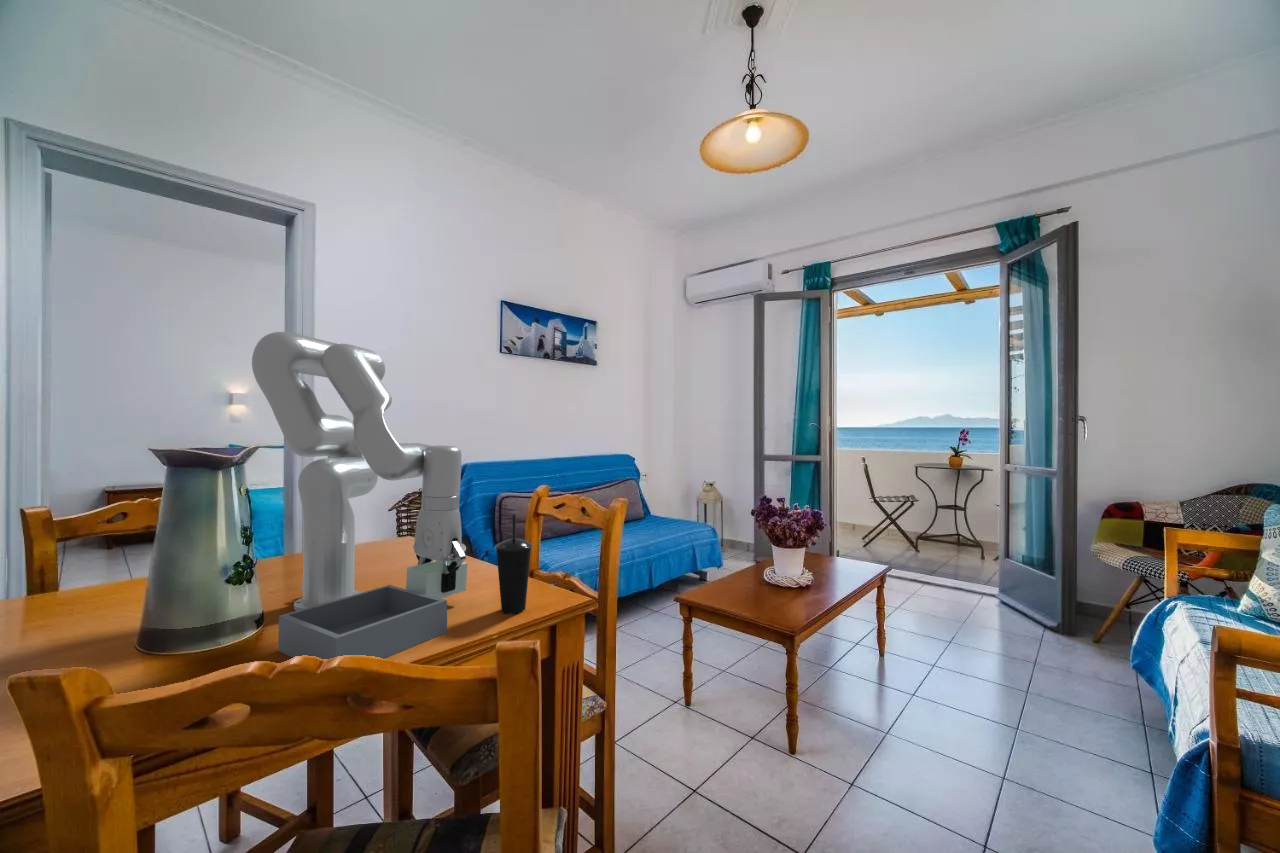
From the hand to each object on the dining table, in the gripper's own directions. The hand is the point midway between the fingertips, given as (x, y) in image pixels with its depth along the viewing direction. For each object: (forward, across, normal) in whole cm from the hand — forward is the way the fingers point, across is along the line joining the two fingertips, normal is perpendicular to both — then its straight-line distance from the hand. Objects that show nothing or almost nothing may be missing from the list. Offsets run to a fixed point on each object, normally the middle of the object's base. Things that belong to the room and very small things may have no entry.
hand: (437, 586), depth 106 cm
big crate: (+5, +4, -18) cm, 19 cm away
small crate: (+1, 0, 0) cm, 1 cm away
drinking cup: (+4, +15, +8) cm, 17 cm away
